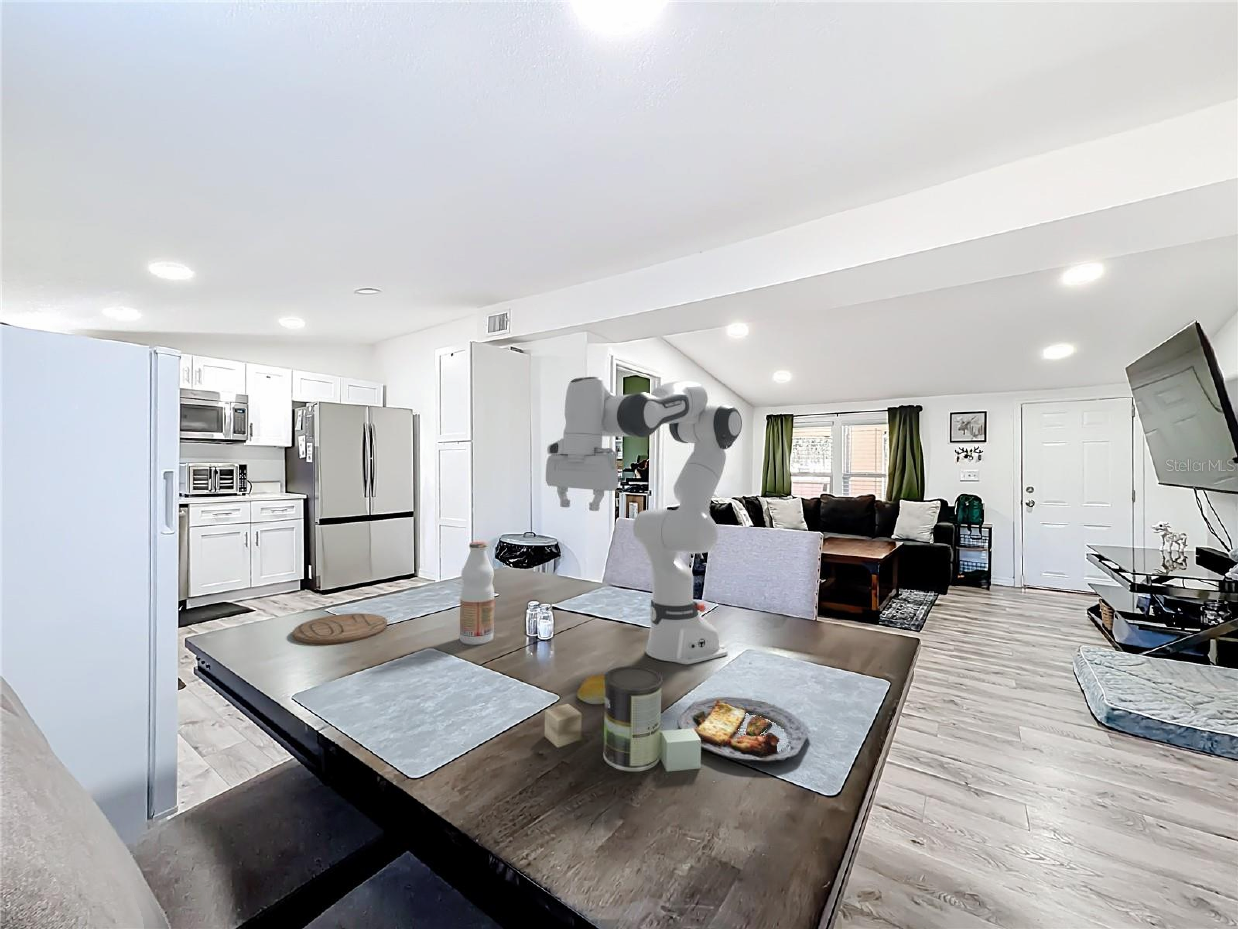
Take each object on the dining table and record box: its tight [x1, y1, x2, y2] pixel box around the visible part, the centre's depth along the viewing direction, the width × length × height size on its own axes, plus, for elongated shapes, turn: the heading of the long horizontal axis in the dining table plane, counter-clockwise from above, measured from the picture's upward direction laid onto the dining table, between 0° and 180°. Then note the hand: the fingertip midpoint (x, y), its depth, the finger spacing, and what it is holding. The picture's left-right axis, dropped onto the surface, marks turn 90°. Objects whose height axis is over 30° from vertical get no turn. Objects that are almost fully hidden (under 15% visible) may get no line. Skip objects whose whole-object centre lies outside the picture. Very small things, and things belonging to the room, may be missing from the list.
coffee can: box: [602, 665, 663, 773], centre depth 96 cm, size 10×10×14 cm
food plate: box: [676, 696, 811, 764], centre depth 104 cm, size 25×23×4 cm
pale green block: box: [660, 728, 702, 772], centre depth 94 cm, size 6×4×5 cm, turn 101°
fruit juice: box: [459, 541, 495, 646], centre depth 155 cm, size 9×9×28 cm
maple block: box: [544, 703, 582, 748], centre depth 102 cm, size 5×5×5 cm
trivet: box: [292, 613, 388, 646], centre depth 161 cm, size 25×25×2 cm
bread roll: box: [577, 674, 605, 705], centre depth 120 cm, size 8×9×4 cm
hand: (579, 508), depth 121 cm, fingers open, 8 cm apart
